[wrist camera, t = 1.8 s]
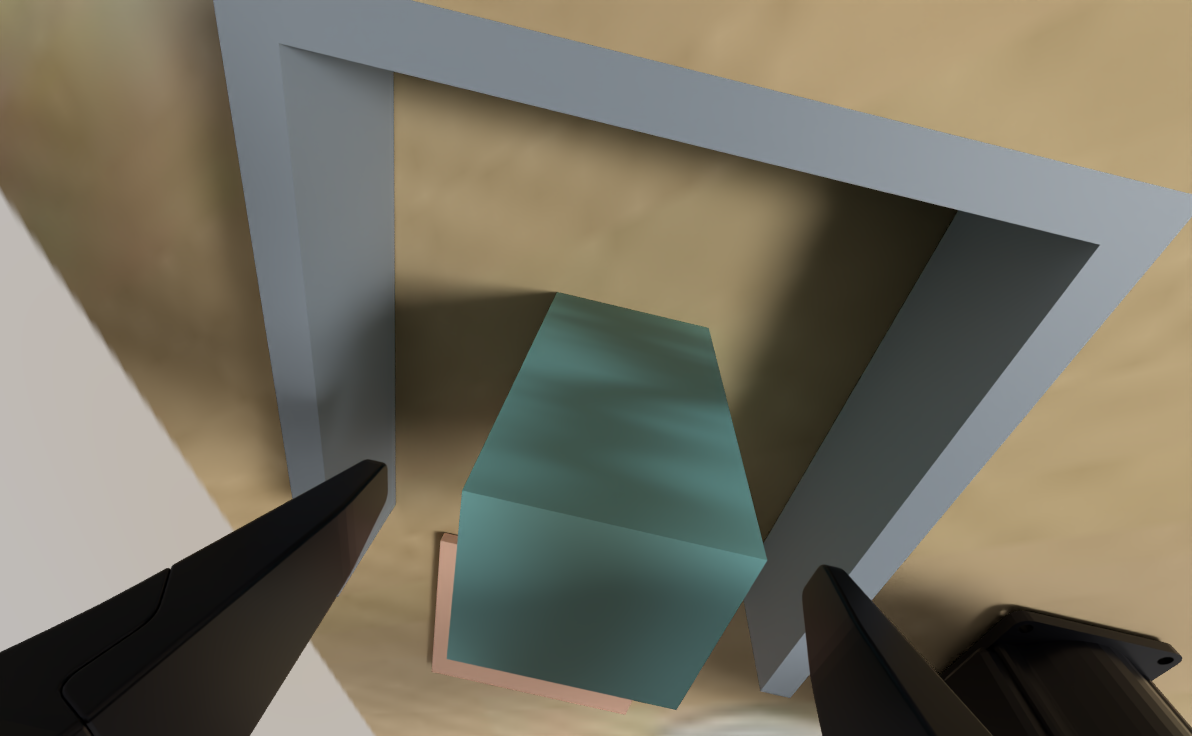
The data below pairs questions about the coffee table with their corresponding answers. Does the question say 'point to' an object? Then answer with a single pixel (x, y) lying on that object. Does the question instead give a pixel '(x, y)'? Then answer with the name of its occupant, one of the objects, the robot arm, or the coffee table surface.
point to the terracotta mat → (490, 675)
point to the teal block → (606, 511)
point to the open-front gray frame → (711, 120)
